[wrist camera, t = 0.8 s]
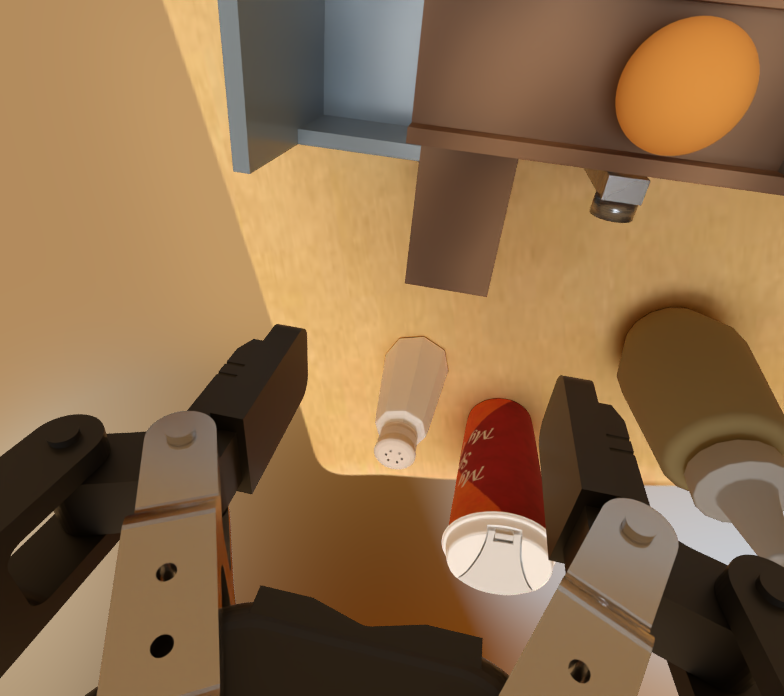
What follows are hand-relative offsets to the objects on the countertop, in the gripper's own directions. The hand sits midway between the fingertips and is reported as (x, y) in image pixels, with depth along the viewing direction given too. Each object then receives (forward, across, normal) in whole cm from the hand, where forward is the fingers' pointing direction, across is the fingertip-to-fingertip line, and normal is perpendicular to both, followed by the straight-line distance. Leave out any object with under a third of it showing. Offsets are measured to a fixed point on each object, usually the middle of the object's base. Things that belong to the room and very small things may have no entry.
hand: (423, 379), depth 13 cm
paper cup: (+24, -6, +22) cm, 33 cm away
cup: (+24, +5, -6) cm, 25 cm away
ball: (+9, -6, -6) cm, 13 cm away
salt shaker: (+24, +2, +17) cm, 29 cm away
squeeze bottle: (+24, -16, +11) cm, 31 cm away
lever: (+13, -6, -3) cm, 14 cm away
